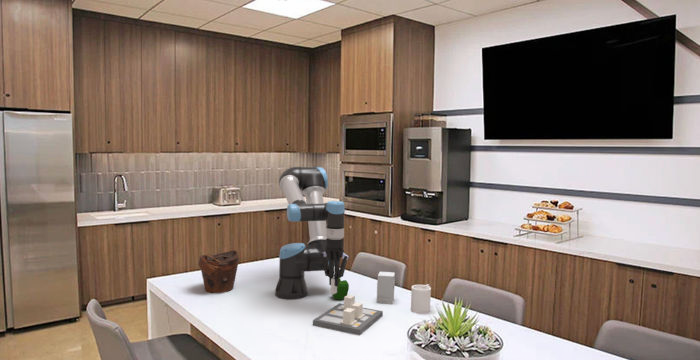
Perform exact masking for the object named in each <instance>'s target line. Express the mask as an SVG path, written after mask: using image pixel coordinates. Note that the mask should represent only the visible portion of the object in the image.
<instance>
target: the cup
mask: <svg viewBox="0 0 700 360" xmlns="http://www.w3.org/2000/svg"><path fill="white" fill-rule="evenodd" d="M431 290H432V287H431V286H430V284H429V283H427V284H414V285H411V292H410V294H411V295H410V296H411V297H410V311H411V312H413V313H414V314H415V313H416V314H419V315H420V314H422V315H423V314H429V313H430V312H431V294H432V291H431Z"/></svg>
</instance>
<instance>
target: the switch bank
mask: <svg viewBox="0 0 700 360" xmlns="http://www.w3.org/2000/svg"><path fill="white" fill-rule="evenodd" d="M343 306H344V303H337V304H336V305H335V306H333V307H332V308H330V309H328V310H326V311H324V312H323V313H322V314H320V315H319V316H317V317H315V318H314V319H312V326H315V327H320V328H325V329H329V330H334V331H339V332H343V333H348V334H353V335H357V336H361V334H363V333H364V332H365V331H366V330H368V329H369V328H370V327H371V326H372V325H374V324H375V323H376V322H377V321H378V320H380V319H381V318H382V317H383V316H384V313H383V310H378V309H373V308H367V307H363V312H362V314H365V316H364V317H363V318H362V319H360V320H358V319H354V320H357V323H355V324H354V325H353V326H349V325H344V324H340V322H341V321H342V320H343V311H344V309H341V307H343Z"/></svg>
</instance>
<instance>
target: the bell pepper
mask: <svg viewBox="0 0 700 360" xmlns="http://www.w3.org/2000/svg"><path fill="white" fill-rule="evenodd" d="M349 288H350V285H349V282H348V281H347V280H341V278H339V285H338V286H337V293H335V294H331V295H332V297H333V298H334V299H335V300H337V301H341V300H344V297H345V296H347V295H349V293H348V292H349V291H350V290H349Z"/></svg>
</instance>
